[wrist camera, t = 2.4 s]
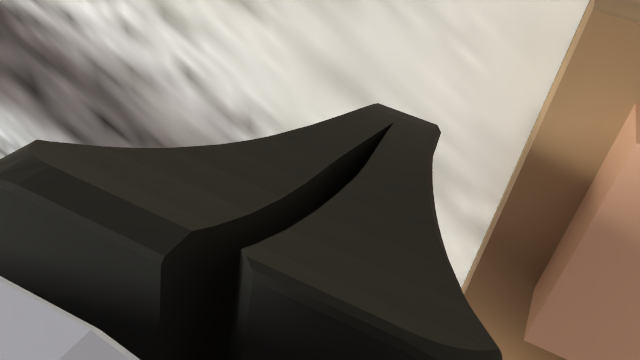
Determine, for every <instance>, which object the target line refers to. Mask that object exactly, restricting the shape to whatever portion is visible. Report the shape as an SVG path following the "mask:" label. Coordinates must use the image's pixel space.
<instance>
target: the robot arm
mask: <svg viewBox="0 0 640 360" xmlns="http://www.w3.org/2000/svg"><path fill="white" fill-rule="evenodd" d="M440 134H441V132H440V130H439V128H438V125H436V124H433V123H430V122H428V121H425V120H422V119H419V118H417V117H414V116H411V115H408V114H406V113H403V112H400V111H397V110H395V109H392V108H389V107H386V106H384V105H381V104H378V103H377V104H373V105H369V106H366V107H363V108H360V109H358V110H355V111H352V112H349V113H346V114H343V115H340V116H337V117H334V118H331V119H328V120H325V121H322V122H319V123H316V124H313V125H310V126H306V127H303V128H299V129H295V130H291V131H288V132H284V133H280V134H277V135H273V136H268V137H264V138H258V139H253V140H247V141H241V142H235V143H228V144H220V145H207V146H193V147H180V148H120V147H101V146H91V145H81V144H70V143H60V142H50V141H42V140H35V141H33V142H32V143H30V144H28V145H26V146H24V147H22V148H20V149H19V150H17V151H15V152H13V153H11V154H9V155H7V156H5V157H4V158H2V159H0V360H503V358H502V353H501V351H500V349H499V347H498V346H497V344H496V343H495V342H494V340H493V339H492V337H491V336H490V334H489V333H488V331H487V330H486V329H485V327H484V326H483V324H482V323H481V321H480V320H479V319H478V317H477V316H476V314H475V313H474V311H473V310H472V308H471V307H470V305H469V303H468V301H467V299H466V298H465V296H464V294H463V292H462V290H461V287H460V285H459V283H458V280H457V278H456V276H455V273H454V271H453V269H452V266H451V264H450V262H449V259H448V256H447V253H446V250H445V247H444V244H443V241H442V237H441V233H440V229H439V225H438V221H437V216H436V210H435V203H434V195H433V183H432V162H433V155H434V152H435V149H436V146H437V143H438V140H439V137H440Z"/></svg>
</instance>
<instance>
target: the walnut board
mask: <svg viewBox="0 0 640 360" xmlns="http://www.w3.org/2000/svg"><path fill="white" fill-rule="evenodd" d="M635 103H636V104H639V105H640V0H590V1H589V3H588V6H587V8H586V10H585V12H584V15H583V17H582V19H581V21H580V24H579V26H578V28H577V30H576V33H575V35H574V37H573V39H572V42H571V44H570V46H569V48H568V51H567V53H566V55H565V57H564V59H563V62H562V64H561V66H560V68H559V71H558V73H557V75H556V77H555V80H554V82H553V84H552V86H551V89H550V91H549V93H548V95H547V98H546V100H545V102H544V104H543V107H542V109H541V111H540V113H539V116H538V118H537V120H536V122H535V125H534V127H533V129H532V131H531V134H530V136H529V138H528V140H527V143H526V145H525V147H524V149H523V152H522V154H521V156H520V158H519V161H518V163H517V165H516V167H515V170H514V172H513V174H512V176H511V179H510V181H509V183H508V185H507V188H506V190H505V192H504V194H503V197H502V199H501V201H500V203H499V206H498V208H497V210H496V212H495V215H494V217H493V219H492V221H491V224H490V226H489V228H488V230H487V233H486V235H485V237H484V239H483V242H482V244H481V246H480V248H479V251H478V253H477V255H476V257H475V260H474V262H473V264H472V266H471V269H470V271H469V273H468V275H467V278H466V280H465V282H464V284H463V287H462V289H461V290H462V292H463V294H464V296H465V298H466V299H467V301H468V303H469V305H470V307H471V308H472V310H473V311H474V313H475V314H476V316H477V317H478V319H479V320H480V321H481V323H482V324H483V326H484V327H485V329H486V330H487V331H488V333H489V334H490V336H491V337H492V339H493V340H494V342H495V343H496V344H497V346H498V347H499V349H500V351H501V353H502V358H503V360H567V359H565V358H562V357H560V356H558V355H556V354H553V353H551V352H549V351H547V350H544V349H542V348H540V347H538V346H535V345H533V344H531V343H529V342H526V341H524V335H525V330H526V325H527V320H528V316H529V311H530V306H531V301H532V296H533V292H534V288H535V286H536V284H537V283H538V281H539V279H540V277H541V275H542V273H543V272H544V270H545V268H546V266H547V264H548V262H549V261H550V259H551V257H552V255H553V253H554V251H555V250H556V248H557V246H558V244H559V242H560V240H561V239H562V237H563V235H564V233H565V231H566V229H567V228H568V226H569V224H570V222H571V220H572V218H573V217H574V215H575V213H576V211H577V209H578V207H579V206H580V204H581V202H582V200H583V198H584V196H585V195H586V193H587V191H588V189H589V187H590V185H591V184H592V182H593V180H594V178H595V176H596V174H597V173H598V171H599V169H600V167H601V165H602V163H603V162H604V160H605V158H606V156H607V154H608V152H609V151H610V149H611V147H612V145H613V143H614V141H615V140H616V138H617V136H618V134H619V132H620V130H621V129H622V127H623V125H624V123H625V121H626V120H627V118H628V116H629V114H630V112H631V110H632V109H633V107H634V105H635Z"/></svg>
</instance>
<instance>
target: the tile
mask: <svg viewBox="0 0 640 360" xmlns="http://www.w3.org/2000/svg"><path fill="white" fill-rule="evenodd" d="M524 341H526V342H529V343H531V344H533V345H535V346H538V347H540V348H542V349H544V350H547V351H549V352H551V353H553V354H556V355H558V356H560V357H562V358H565V359H567V360H640V105H639V104H636V103H635V105H634V107H633V109H632V110H631V112H630V114H629V116H628V118H627V120H626V121H625V123H624V125H623V127H622V129H621V130H620V132H619V134H618V136H617V138H616V140H615V141H614V143H613V145H612V147H611V149H610V151H609V152H608V154H607V156H606V158H605V160H604V162H603V163H602V165H601V167H600V169H599V171H598V173H597V174H596V176H595V178H594V180H593V182H592V184H591V185H590V187H589V189H588V191H587V193H586V195H585V196H584V198H583V200H582V202H581V204H580V206H579V207H578V209H577V211H576V213H575V215H574V217H573V218H572V220H571V222H570V224H569V226H568V228H567V229H566V231H565V233H564V235H563V237H562V239H561V240H560V242H559V244H558V246H557V248H556V250H555V251H554V253H553V255H552V257H551V259H550V261H549V262H548V264H547V266H546V268H545V270H544V272H543V273H542V275H541V277H540V279H539V281H538V283H537V284H536V286H535V288H534V292H533V296H532V301H531V306H530V311H529V316H528V320H527V325H526V330H525V335H524Z"/></svg>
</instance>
